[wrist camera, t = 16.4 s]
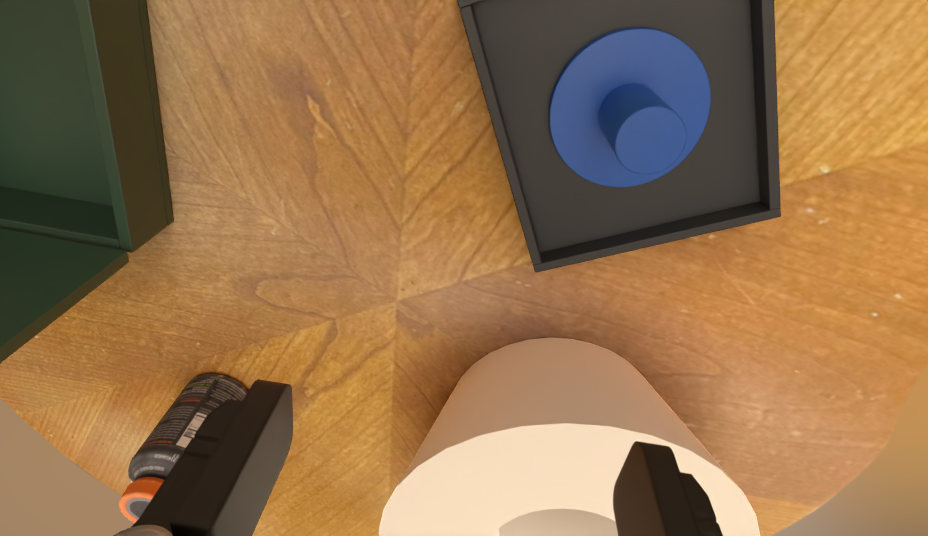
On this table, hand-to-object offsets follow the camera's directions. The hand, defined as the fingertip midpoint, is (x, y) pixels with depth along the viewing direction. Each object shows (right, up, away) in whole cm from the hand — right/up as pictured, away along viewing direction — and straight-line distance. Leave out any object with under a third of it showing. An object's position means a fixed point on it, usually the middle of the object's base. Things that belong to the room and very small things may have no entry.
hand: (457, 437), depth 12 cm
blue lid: (+10, +13, +19) cm, 25 cm away
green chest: (-26, +15, +21) cm, 37 cm away
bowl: (+7, -9, +32) cm, 34 cm away
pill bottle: (-21, -7, +34) cm, 41 cm away
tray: (+10, +14, +19) cm, 25 cm away
